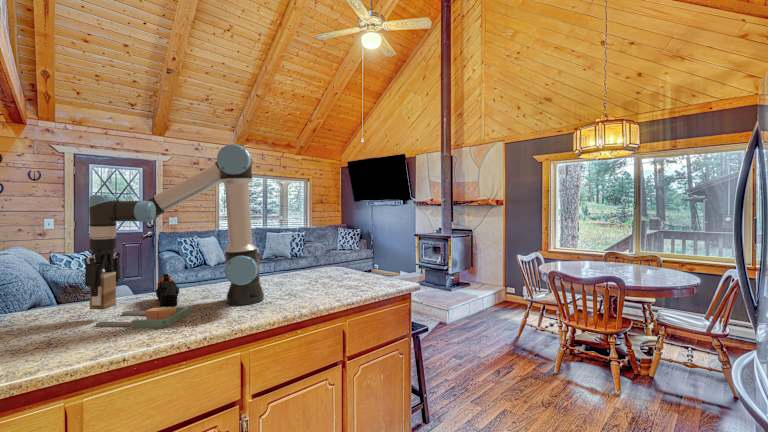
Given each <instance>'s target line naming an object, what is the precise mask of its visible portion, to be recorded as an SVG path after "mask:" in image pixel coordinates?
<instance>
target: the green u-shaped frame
mask: <svg viewBox="0 0 768 432" xmlns="http://www.w3.org/2000/svg"><path fill="white" fill-rule="evenodd" d="M159 308H176V314H174V315H172V316H170V317H168V318H166V319H164V320H146V319H133V320H132V321H131V322H132V329H133V328H138V329H142V328H143V329H146V328H147V329H149V328H150V329H154V328H155V329H160V328H161V329H163V328H167V327H169V326H171V325H173V324H174V323H176V322H178V321H179V320H181V319H183V318H184V317H186V316H188V315H191V311H192V310H191V308H192V307H191V306H175V307H160V306H159Z"/></svg>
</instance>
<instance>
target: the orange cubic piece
mask: <svg viewBox="0 0 768 432" xmlns="http://www.w3.org/2000/svg"><path fill="white" fill-rule="evenodd" d="M161 309H163V308H160V307H151V308H150V309H147V310H145V311H146V315H145V316H146V317H145V320H158V311H159V310H161Z"/></svg>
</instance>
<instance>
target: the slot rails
mask: <svg viewBox="0 0 768 432" xmlns="http://www.w3.org/2000/svg"><path fill="white" fill-rule="evenodd" d="M146 311H147V310H126V311H123V312H121V316H146ZM95 327H112V328H113V327H114V328H117V327H118V328H119V327H123V328H126V327H127V328H128V327H132V321H98V322H96V323H95Z"/></svg>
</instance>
